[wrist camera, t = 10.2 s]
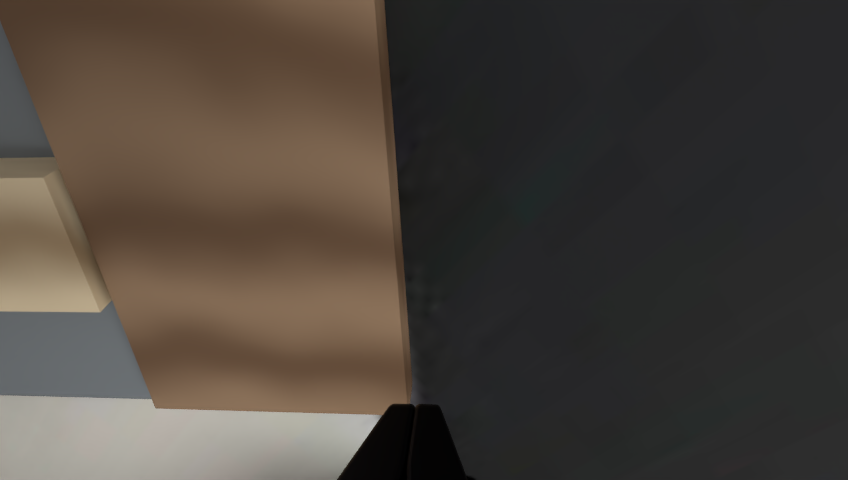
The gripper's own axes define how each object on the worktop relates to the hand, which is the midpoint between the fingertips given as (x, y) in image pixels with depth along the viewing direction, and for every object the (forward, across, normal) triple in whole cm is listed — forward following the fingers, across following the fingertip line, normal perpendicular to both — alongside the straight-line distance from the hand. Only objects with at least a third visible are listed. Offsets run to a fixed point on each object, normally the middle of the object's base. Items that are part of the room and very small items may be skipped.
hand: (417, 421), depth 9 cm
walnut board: (+13, +8, +3) cm, 16 cm away
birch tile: (+12, +18, +3) cm, 22 cm away
